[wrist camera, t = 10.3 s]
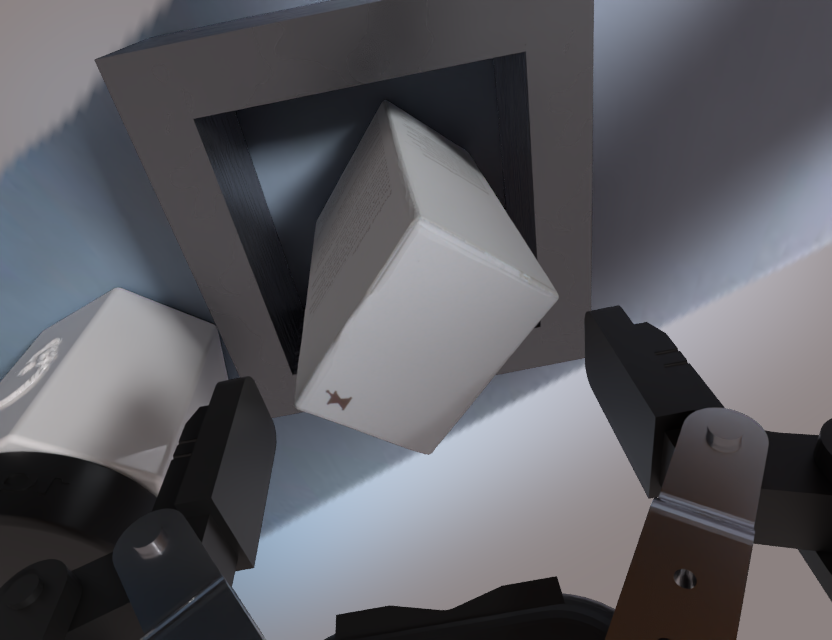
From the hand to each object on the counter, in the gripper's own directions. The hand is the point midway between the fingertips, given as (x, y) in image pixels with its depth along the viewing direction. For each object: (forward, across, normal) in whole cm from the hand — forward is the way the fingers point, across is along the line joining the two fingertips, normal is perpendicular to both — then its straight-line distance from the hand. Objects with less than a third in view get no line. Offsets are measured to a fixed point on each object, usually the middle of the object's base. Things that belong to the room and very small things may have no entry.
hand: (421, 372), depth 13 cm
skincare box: (+12, 0, 0) cm, 12 cm away
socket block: (+12, 0, 0) cm, 12 cm away
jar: (+12, +14, +6) cm, 19 cm away
